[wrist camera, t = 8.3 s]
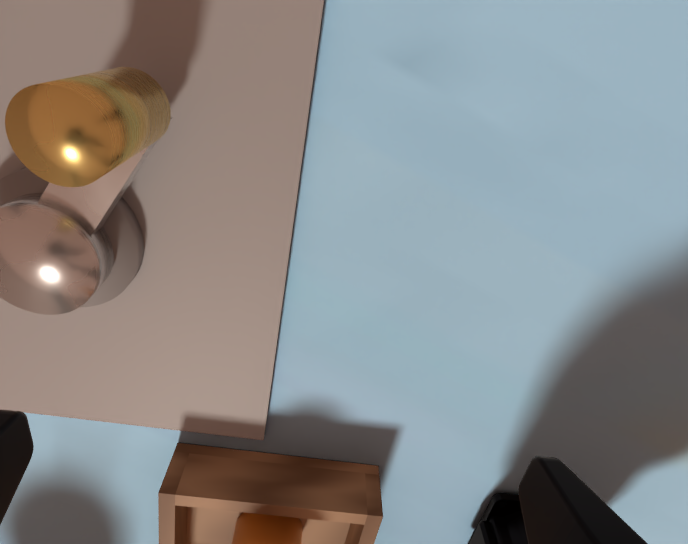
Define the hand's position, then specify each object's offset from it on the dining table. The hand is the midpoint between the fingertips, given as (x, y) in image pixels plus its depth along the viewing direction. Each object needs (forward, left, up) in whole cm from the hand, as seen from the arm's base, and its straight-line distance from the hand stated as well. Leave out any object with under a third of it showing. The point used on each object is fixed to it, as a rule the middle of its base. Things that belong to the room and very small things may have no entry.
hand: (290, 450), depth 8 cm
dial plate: (+9, +2, -12) cm, 15 cm away
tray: (0, +20, -12) cm, 24 cm away
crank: (+8, 0, -11) cm, 14 cm away
